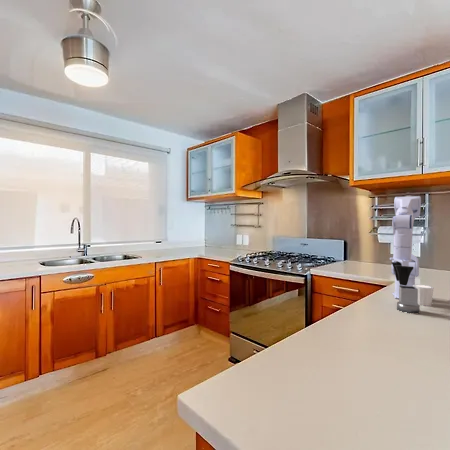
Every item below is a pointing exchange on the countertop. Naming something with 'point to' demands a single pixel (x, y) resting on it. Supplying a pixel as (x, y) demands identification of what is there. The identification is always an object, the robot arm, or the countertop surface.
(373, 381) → the countertop surface
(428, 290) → the shot glass
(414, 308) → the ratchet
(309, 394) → the countertop surface
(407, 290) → the socket
